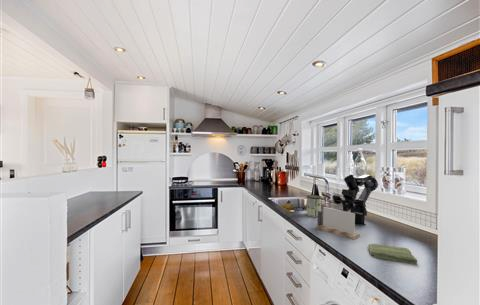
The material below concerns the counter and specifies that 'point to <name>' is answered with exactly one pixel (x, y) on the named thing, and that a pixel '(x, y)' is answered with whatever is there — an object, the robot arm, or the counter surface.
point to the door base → (331, 230)
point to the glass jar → (313, 205)
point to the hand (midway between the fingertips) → (343, 212)
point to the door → (338, 220)
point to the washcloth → (392, 253)
